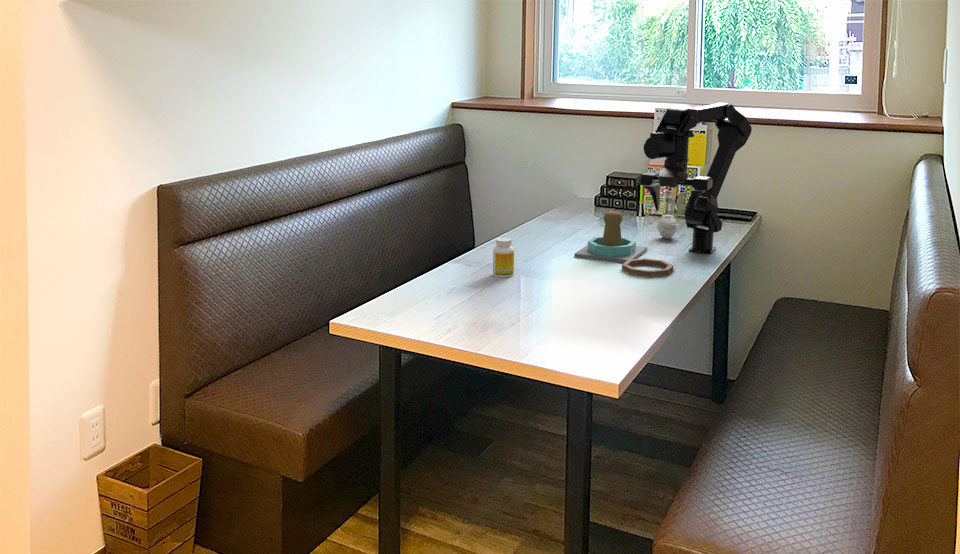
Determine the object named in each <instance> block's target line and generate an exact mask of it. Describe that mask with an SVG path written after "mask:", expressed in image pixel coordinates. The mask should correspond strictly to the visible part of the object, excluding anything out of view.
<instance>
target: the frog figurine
mask: <svg viewBox="0 0 960 554" xmlns="http://www.w3.org/2000/svg"><path fill="white" fill-rule="evenodd" d="M656 228H657V229H656V230H658V233H659V235H660V236H661V237H662V238H663V239H666V240H667V239H672V238H673V237H674V236H675V235H676V232H677V230H678V229H679V226H678V224H677V220H676V218H675V216H674V215H670V214H661V217H660V219H659V220H658V223H657V225H656Z"/></svg>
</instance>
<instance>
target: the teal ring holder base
mask: <svg viewBox="0 0 960 554" xmlns="http://www.w3.org/2000/svg"><path fill="white" fill-rule="evenodd" d="M621 239H622V246H605V245H602V240H603V236H593V237H592V238H590V239H589V240H587V245H585V246H584V247H583V248H581V249H579V250H578V251H576V252H575V253H574V255H573V256H574V258H578V259H579V258H581V259H588V260H597V261H605V262H606V261H607V262H610V263H612V262H613V263H620V264H623V263H624V262H626V261H627V260H630V259H639V258H641V256H643V255H644V254H645V253H646V252H647V251H648V246H641V245H637V243H636V241H635V240H633V239H631V238H629V237H624V236H623V237H622V236H621Z"/></svg>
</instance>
